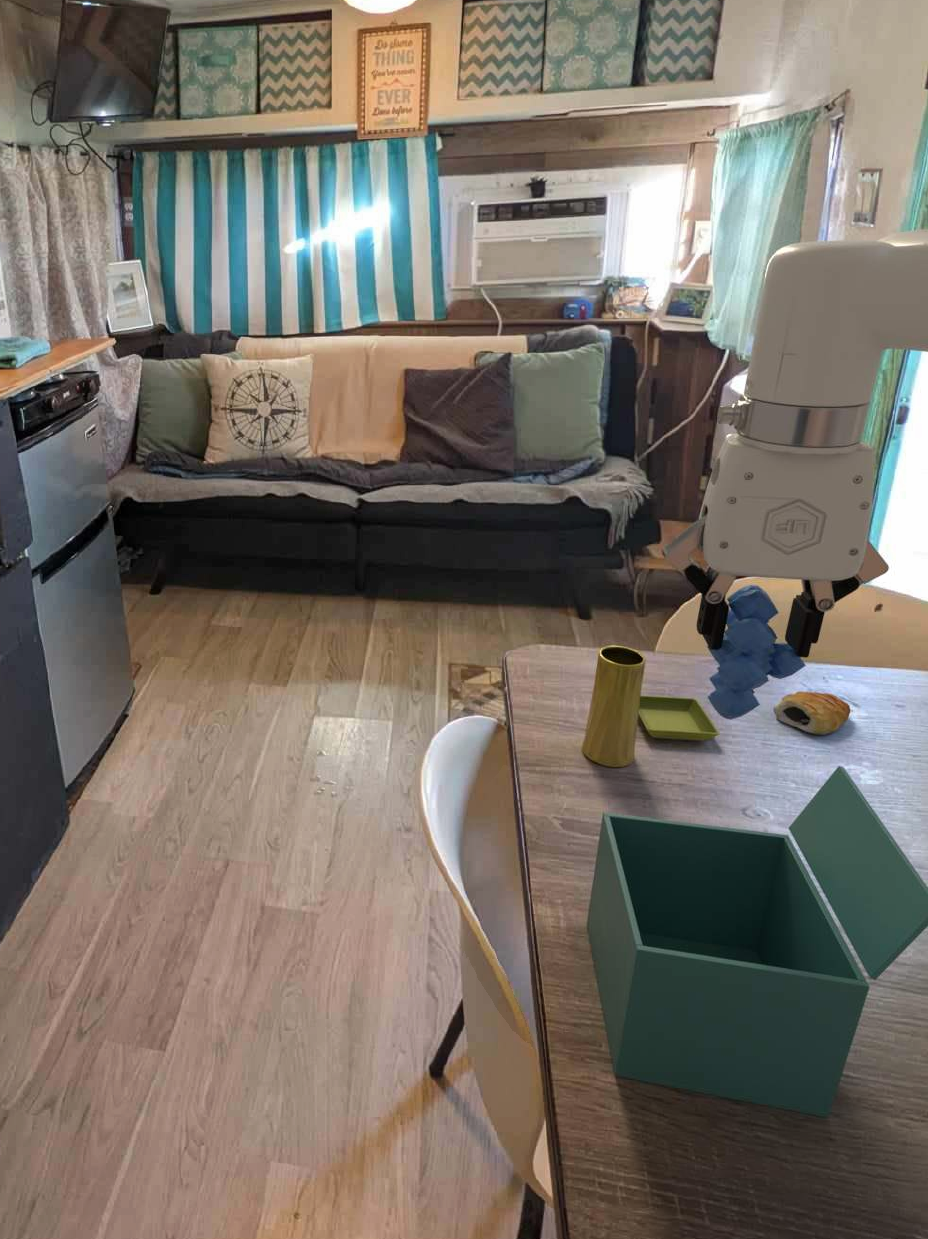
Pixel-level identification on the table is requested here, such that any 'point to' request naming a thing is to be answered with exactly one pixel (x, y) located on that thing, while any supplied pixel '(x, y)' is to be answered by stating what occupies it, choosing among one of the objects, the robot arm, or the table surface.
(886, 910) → the flap
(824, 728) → the pastry
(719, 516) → the robot arm
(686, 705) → the olive green shallow tray
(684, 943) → the carton
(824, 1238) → the table surface
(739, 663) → the grapes
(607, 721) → the vase
